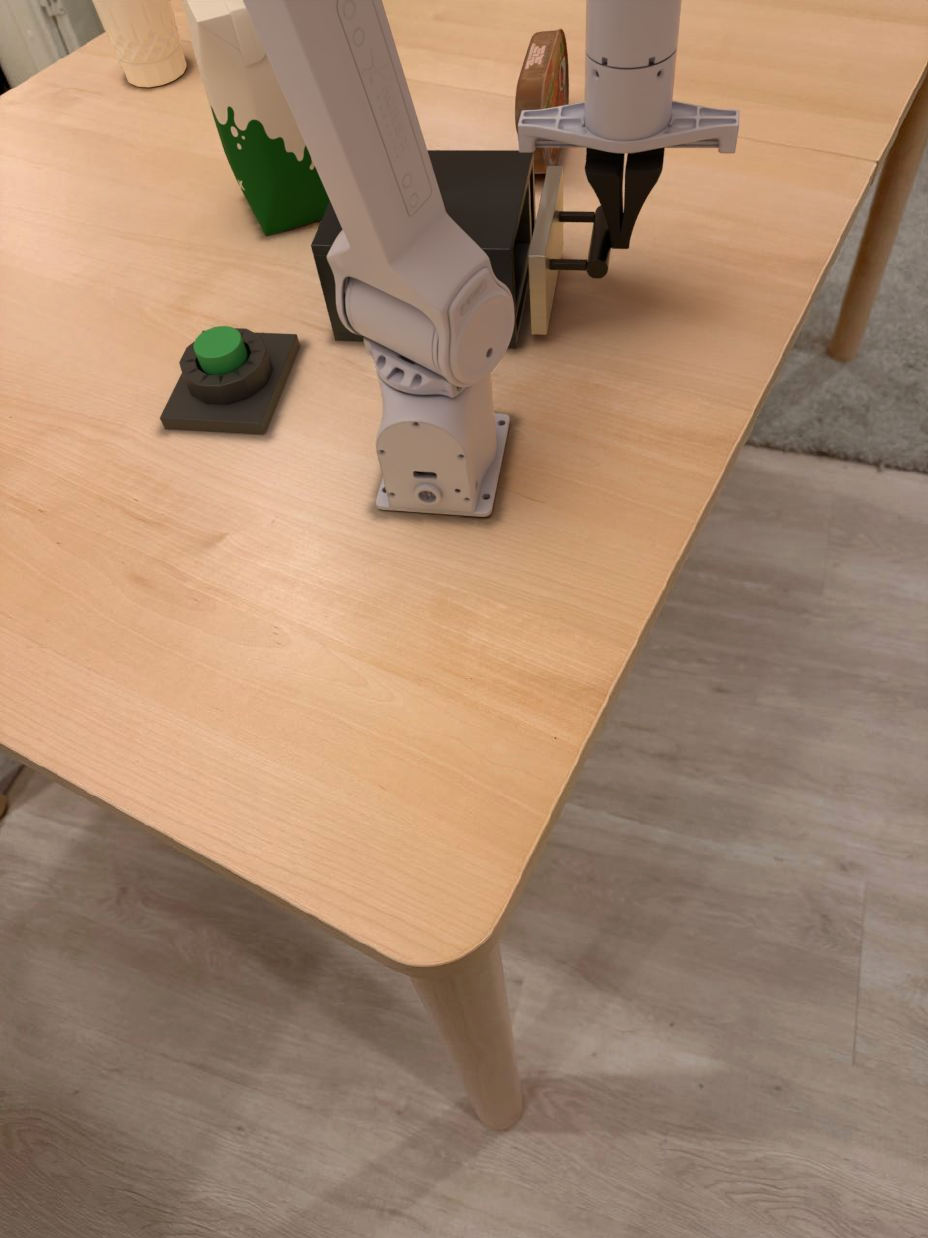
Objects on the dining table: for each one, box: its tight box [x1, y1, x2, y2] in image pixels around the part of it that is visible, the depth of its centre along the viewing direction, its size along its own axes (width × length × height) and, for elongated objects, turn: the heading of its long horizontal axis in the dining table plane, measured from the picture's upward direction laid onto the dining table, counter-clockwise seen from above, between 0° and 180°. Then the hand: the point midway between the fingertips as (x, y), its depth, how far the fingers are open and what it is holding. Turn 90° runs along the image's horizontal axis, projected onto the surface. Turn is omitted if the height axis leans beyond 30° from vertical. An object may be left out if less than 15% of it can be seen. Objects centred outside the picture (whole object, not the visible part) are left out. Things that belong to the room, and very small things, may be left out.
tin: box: [514, 28, 570, 175], centre depth 84 cm, size 15×3×8 cm, turn 168°
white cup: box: [91, 0, 188, 88], centre depth 99 cm, size 8×8×10 cm
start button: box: [193, 325, 248, 375], centre depth 69 cm, size 4×4×2 cm
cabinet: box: [310, 149, 537, 349], centre depth 73 cm, size 15×13×9 cm
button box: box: [159, 327, 301, 436], centre depth 71 cm, size 10×8×3 cm
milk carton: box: [182, 0, 330, 237], centre depth 77 cm, size 9×9×20 cm
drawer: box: [512, 165, 612, 336], centre depth 72 cm, size 18×11×7 cm, turn 80°
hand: (620, 240), depth 69 cm, fingers closed
